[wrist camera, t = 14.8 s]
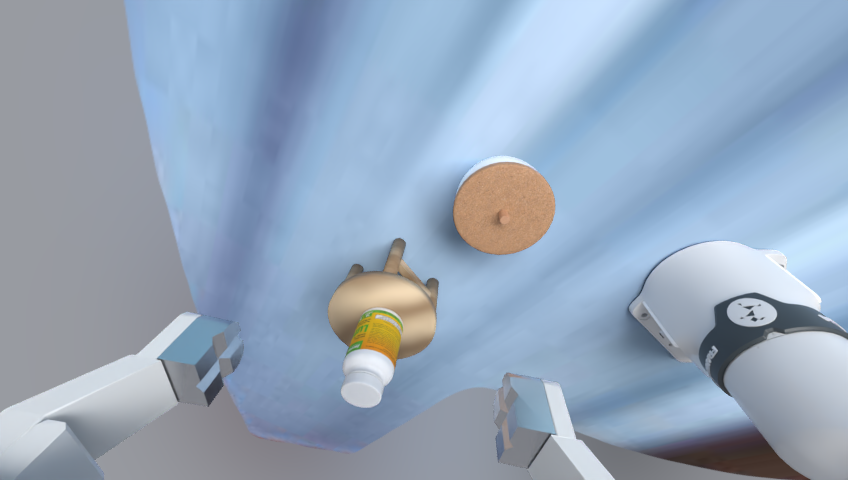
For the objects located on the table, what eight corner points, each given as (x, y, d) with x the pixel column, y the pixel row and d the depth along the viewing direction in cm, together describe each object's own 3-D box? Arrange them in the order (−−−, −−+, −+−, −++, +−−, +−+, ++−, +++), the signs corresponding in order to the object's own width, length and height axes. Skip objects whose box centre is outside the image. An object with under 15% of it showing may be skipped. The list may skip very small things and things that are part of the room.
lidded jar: (555, 196, 41) (578, 232, 33) (482, 237, 45) (487, 278, 37) (512, 126, 37) (526, 146, 29) (437, 177, 41) (432, 208, 33)
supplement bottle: (370, 298, 39) (344, 369, 31) (411, 317, 40) (397, 391, 32) (354, 327, 42) (325, 399, 33) (392, 344, 43) (374, 418, 34)
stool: (457, 287, 50) (457, 336, 41) (388, 321, 55) (375, 371, 46) (402, 219, 45) (388, 259, 36) (332, 264, 50) (305, 308, 41)
